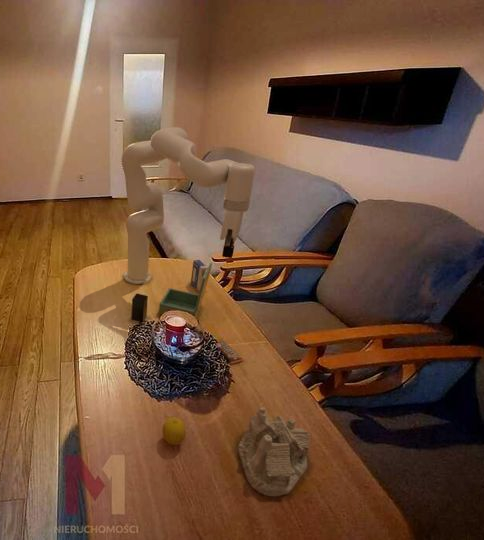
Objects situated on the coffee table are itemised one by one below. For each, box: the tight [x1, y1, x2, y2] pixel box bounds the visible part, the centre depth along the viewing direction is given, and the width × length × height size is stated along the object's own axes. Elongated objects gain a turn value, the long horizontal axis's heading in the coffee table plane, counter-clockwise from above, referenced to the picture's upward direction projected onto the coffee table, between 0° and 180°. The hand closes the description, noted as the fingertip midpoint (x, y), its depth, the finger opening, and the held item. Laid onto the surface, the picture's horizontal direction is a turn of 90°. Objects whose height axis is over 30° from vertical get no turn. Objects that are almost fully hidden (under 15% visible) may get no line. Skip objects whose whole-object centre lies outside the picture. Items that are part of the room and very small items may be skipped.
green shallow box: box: [158, 287, 203, 319], centre depth 136 cm, size 14×13×6 cm
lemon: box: [162, 416, 186, 446], centre depth 86 cm, size 6×6×8 cm
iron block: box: [131, 292, 149, 323], centre depth 131 cm, size 4×4×10 cm
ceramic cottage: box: [237, 406, 311, 497], centre depth 79 cm, size 16×16×15 cm
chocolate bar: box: [215, 341, 244, 365], centre depth 116 cm, size 11×5×1 cm, turn 20°
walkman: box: [190, 259, 208, 292], centre depth 150 cm, size 8×3×12 cm, turn 11°
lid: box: [195, 262, 213, 311], centre depth 128 cm, size 14×13×1 cm
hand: (227, 256), depth 119 cm, fingers closed
